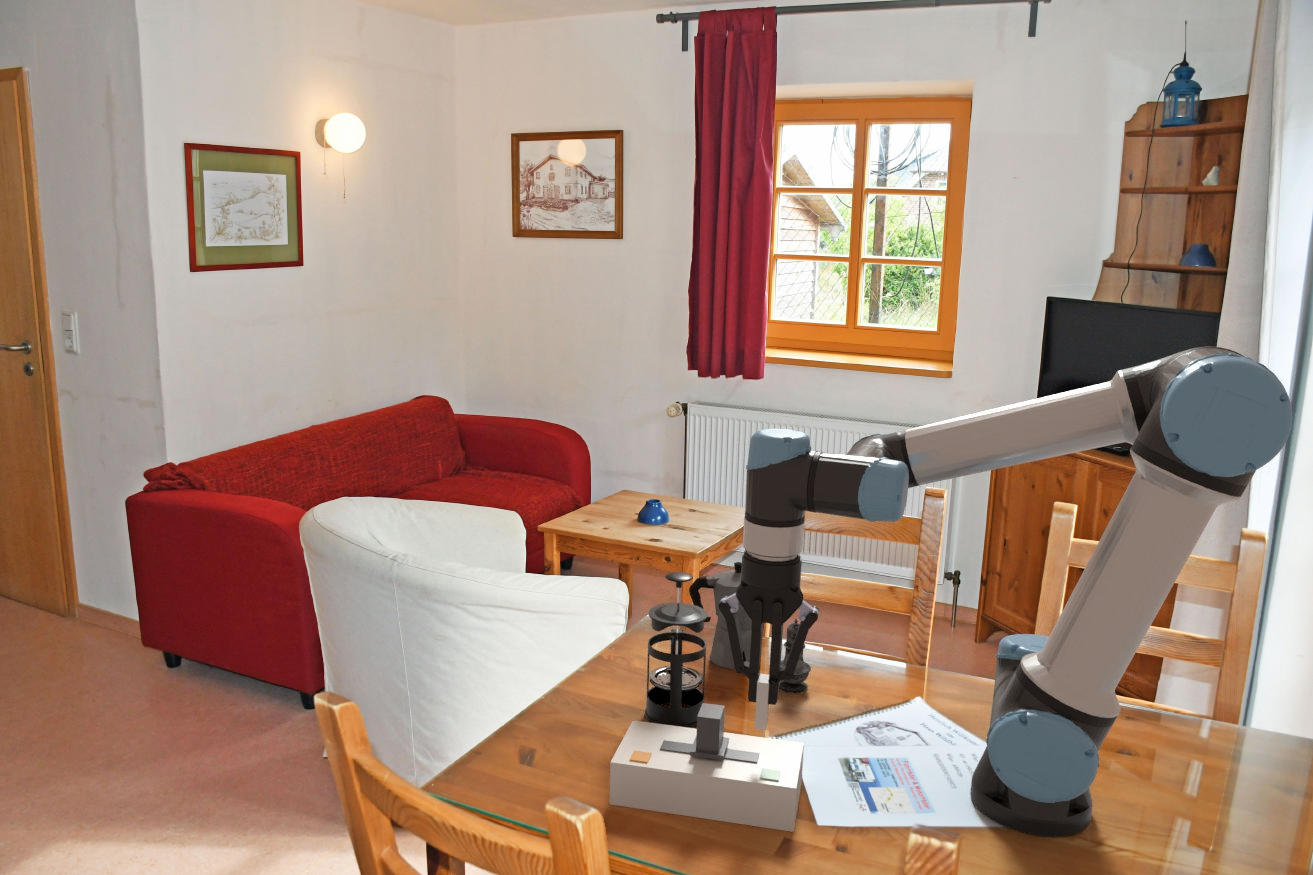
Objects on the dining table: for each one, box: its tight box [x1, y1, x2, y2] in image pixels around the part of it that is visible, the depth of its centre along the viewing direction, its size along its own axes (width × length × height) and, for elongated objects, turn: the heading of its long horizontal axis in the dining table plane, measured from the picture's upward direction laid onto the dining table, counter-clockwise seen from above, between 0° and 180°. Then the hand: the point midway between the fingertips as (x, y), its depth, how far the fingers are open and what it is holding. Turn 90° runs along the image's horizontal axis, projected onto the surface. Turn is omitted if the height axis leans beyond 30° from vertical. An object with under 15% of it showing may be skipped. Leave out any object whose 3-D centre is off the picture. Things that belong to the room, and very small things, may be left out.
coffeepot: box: [688, 561, 752, 670], centre depth 176 cm, size 15×9×18 cm, turn 104°
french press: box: [644, 571, 708, 728], centre depth 154 cm, size 12×9×23 cm
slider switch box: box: [609, 720, 805, 833], centre depth 133 cm, size 24×12×6 cm, turn 77°
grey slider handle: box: [690, 702, 729, 760], centre depth 132 cm, size 4×5×5 cm
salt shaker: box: [779, 618, 812, 695], centre depth 166 cm, size 6×6×12 cm
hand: (761, 724), depth 130 cm, fingers closed
